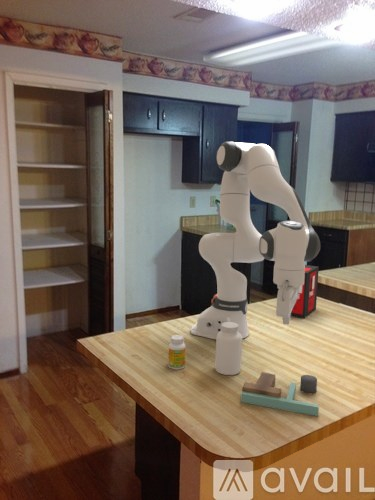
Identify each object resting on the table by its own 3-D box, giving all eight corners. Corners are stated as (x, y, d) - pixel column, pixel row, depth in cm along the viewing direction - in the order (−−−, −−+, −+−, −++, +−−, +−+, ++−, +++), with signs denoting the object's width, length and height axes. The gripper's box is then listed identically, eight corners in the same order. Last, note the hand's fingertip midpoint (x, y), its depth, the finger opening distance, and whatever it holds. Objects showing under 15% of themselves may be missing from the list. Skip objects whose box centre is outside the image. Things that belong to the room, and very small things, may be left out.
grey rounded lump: (299, 392, 124) (300, 380, 124) (300, 385, 129) (301, 373, 128) (315, 394, 123) (316, 383, 122) (316, 387, 127) (317, 376, 127)
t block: (242, 399, 120) (242, 386, 119) (251, 381, 130) (251, 370, 130) (278, 406, 117) (279, 393, 116) (285, 388, 127) (285, 376, 126)
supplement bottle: (172, 371, 136) (173, 341, 135) (165, 364, 141) (165, 335, 139) (188, 367, 139) (188, 338, 137) (180, 361, 143) (180, 333, 142)
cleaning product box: (297, 305, 207) (299, 264, 203) (315, 309, 202) (318, 266, 198) (284, 314, 193) (286, 270, 190) (304, 318, 188) (307, 273, 185)
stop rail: (240, 401, 118) (241, 393, 118) (249, 383, 129) (249, 375, 129) (318, 416, 112) (318, 407, 111) (320, 395, 123) (320, 387, 122)
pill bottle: (233, 378, 132) (235, 330, 129) (210, 371, 136) (211, 325, 134) (245, 368, 139) (246, 323, 136) (222, 362, 143) (223, 318, 140)
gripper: (295, 286, 117) (292, 335, 119) (303, 271, 136) (300, 314, 138) (271, 284, 119) (269, 332, 121) (282, 269, 138) (280, 312, 140)
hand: (286, 322), depth 130 cm, fingers closed
